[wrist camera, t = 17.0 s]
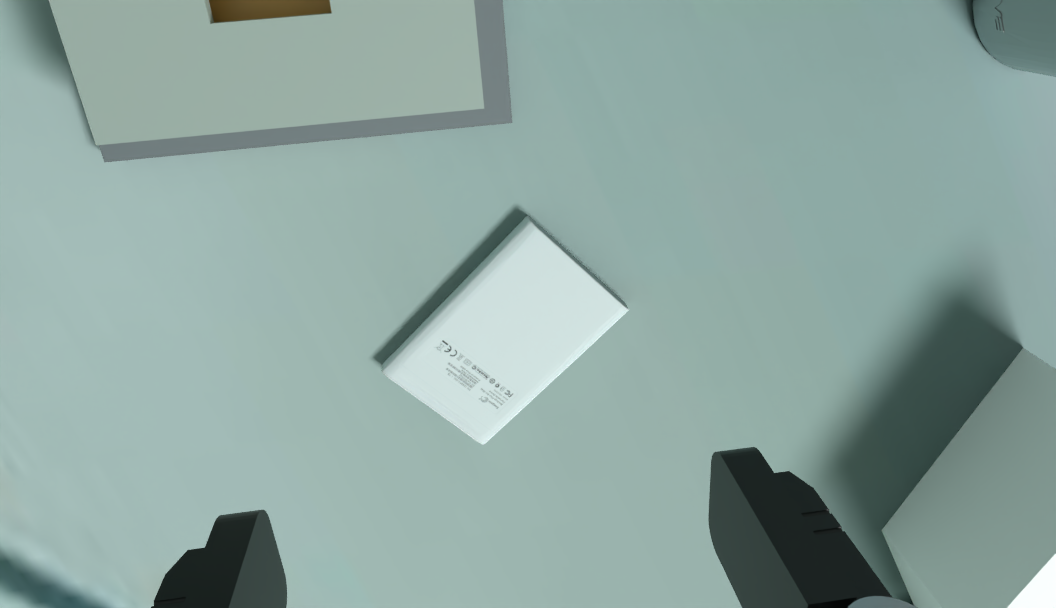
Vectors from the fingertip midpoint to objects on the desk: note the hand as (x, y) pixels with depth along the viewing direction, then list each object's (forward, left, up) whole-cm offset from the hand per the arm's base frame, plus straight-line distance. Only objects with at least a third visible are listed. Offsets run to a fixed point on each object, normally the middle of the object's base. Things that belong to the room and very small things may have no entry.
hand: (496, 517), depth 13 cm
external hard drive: (-2, +11, -29) cm, 31 cm away
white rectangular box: (-35, +31, -28) cm, 55 cm away
